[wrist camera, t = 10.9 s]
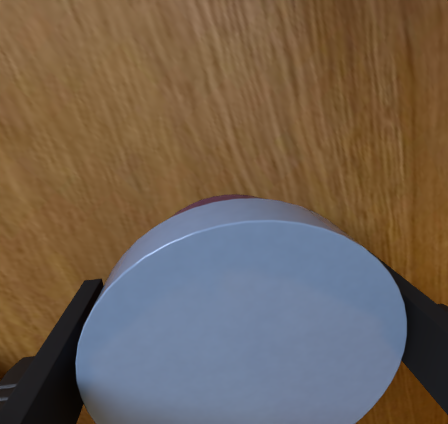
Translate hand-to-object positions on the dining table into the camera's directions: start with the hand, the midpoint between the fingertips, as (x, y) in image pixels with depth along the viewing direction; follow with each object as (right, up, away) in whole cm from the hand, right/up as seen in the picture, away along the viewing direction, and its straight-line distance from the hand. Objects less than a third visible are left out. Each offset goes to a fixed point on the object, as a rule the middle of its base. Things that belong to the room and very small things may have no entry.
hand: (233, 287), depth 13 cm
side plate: (0, -1, -2) cm, 3 cm away
